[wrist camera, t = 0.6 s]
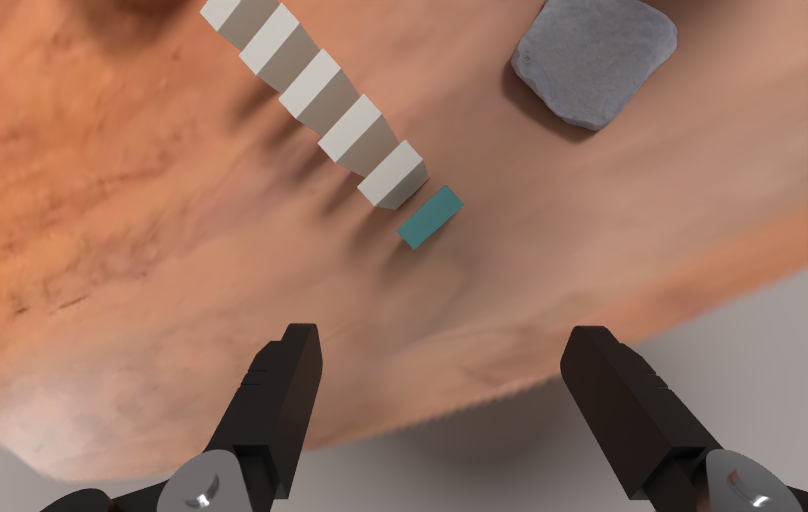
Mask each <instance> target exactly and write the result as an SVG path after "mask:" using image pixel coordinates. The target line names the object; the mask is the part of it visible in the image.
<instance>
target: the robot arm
mask: <svg viewBox="0 0 808 512" xmlns="http://www.w3.org/2000/svg"><path fill="white" fill-rule="evenodd" d="M322 365H323V361H322V353H321V347H320V341H319V335H318V329H317V325H316V324H309V323H291V324H289V325H288V327H287V329H286V331H285V333H284V335H283V337H282V340H281V341H270V342H269V343H268V344H267V345H266V346H265V347H264V348H263V349H262V350H261V351H259V352H258V353H257V354H256V356H255V358H254V360H253V362H252V364H251V365H250V367H249V369H248V373H247V374H246V375H245V377H244V379H243V380H242V382H241V386H240V388H238V390H237V392H236V393H235V395H234V397H233V399H232V401H231V403H230V405H229V406H228V408H227V410H226V412H225V414H224V416H223V418H222V420H221V421H220V423H219V425H218V427H217V429H216V431H215V433H214V434H213V436H212V438H211V440H210V442H209V443H208V445H207V447H206V448H205V450H204V451H203V452H202V454H200V455H198V456H196V457H194V458H192V459H191V460H189V461H188V462H186V463H185V464H184V465H183V466H182V467H180V468H179V469H178V470H177V471H176V472H175V473H174V475H173V476H172V477H171V478H170V479H168V480H166V481H164V482H161V483H159V484H156V485H153V486H150V487H147V488H144V489H141V490H138V491H135V492H132V493H129V494H126V495H123V496H120V497H117V498H114V499H110V498H109V497H108V496H107V495H106V494H105V493H104V492H103V491H101V490H99V489H92V488H89V489H82V490H79V491H76V492H73V493H71V494H68V495H66V496H64V497H62V498H60V499H58V500H56V501H55V502H53V503H52V504H50V505H48V506H47V507H46V508H44V509H43V510H42V511H40V512H270V510H271V506H272V503H273V500H274V499H288V497H289V493H290V489H291V486H292V482H293V478H294V475H295V471H296V467H297V464H298V460H299V456H300V453H301V449H302V445H303V442H304V438H305V434H306V431H307V427H308V424H309V420H310V416H311V413H312V409H313V405H314V402H315V398H316V394H317V391H318V387H319V383H320V380H321V375H322ZM560 369H561V374H562V377H563V380H564V382H565V384H566V385H567V387H568V389H569V391H570V393H571V394H572V396H573V398H574V400H575V402H576V403H577V405H578V407H579V409H580V411H581V412H582V414H583V416H584V418H585V420H586V422H587V423H588V425H589V427H590V429H591V431H592V433H593V434H594V436H595V438H596V440H597V442H598V443H599V445H600V447H601V449H602V451H603V452H604V454H605V456H606V458H607V460H608V462H609V463H610V465H611V467H612V469H613V471H614V473H615V474H616V476H617V478H618V480H619V482H620V483H621V485H622V487H623V489H624V491H625V492H626V494H627V496H628V498H629V500H650V502H651V503H652V505H653V507H654V508H655V511H654V512H808V492H806V491H803V490H800V489H796V488H793V487H790V486H786V485H785V484H784V483H783V482H781V480H779V479H778V478H777V477H776V476H775V475H773V474H772V473H771V472H770V471H769V470H767V469H766V468H764V467H763V466H762V465H760V464H759V463H757V462H755V461H754V460H752V459H750V458H748V457H746V456H744V455H741V454H739V453H736V452H733V451H730V450H725V449H724V448H723V447H722V446H721V445H720V444H719V443H718V442H717V441H716V440H715V439H714V437H713V436H712V435H711V434H710V433H709V432H708V431H707V430H706V429H705V427H704V426H703V425H702V424H701V423H700V422H699V421H698V419H696V417H695V416H694V415H693V414H692V413H691V412H690V410H689V409H688V408H687V407H686V406H685V405H684V404H683V403H682V401H681V400H680V399H679V398H678V397H677V396H676V395H675V394H674V392H672V390H669V389H668V386H667V384H666V383H665V382H664V381H663V380H662V379H661V378H660V377H659V376H656V372H655V371H654V370H653V369H652V368H651V366H650V365H649V364H648V363H647V362H646V361H645V360H644V359H643V357H642V356H640V355H639V354H637V353H636V352H635V351H633V350H632V349H630V348H629V347H628V346H626V345H625V344H624V343H619V342H618V341H617V339H616V338H615V337H614V336H613V335H612V333H611V332H610V331H609V330H608V329H607V328H606V327H604V326H575V327H574V328H573V330H572V332H571V335H570V337H569V340H568V343H567V345H566V348H565V350H564V353H563V356H562V358H561V362H560Z"/></svg>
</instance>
